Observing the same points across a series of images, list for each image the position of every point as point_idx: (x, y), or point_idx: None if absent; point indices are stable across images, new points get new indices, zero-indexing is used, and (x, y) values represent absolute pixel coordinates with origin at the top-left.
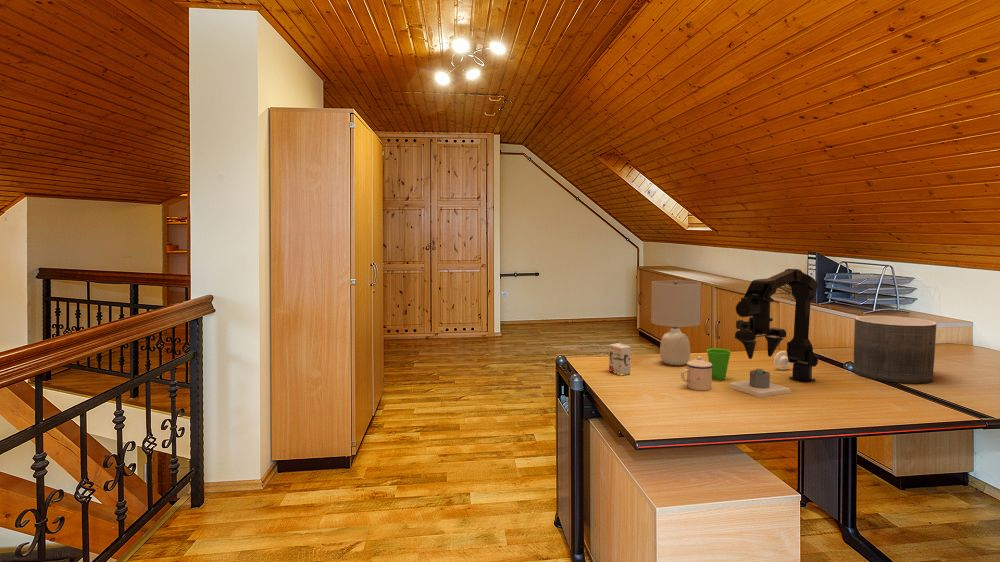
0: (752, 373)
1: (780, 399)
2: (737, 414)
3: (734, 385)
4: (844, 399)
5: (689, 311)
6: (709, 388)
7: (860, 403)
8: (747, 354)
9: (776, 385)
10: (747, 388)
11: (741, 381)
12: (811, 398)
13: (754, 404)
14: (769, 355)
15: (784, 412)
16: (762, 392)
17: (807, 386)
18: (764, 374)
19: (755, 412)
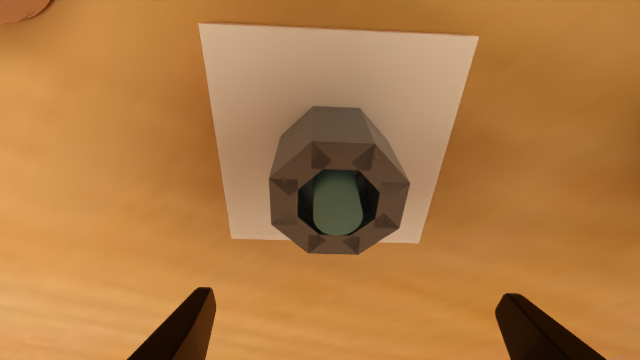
0: (270, 197)
1: (297, 264)
2: (34, 304)
3: (208, 75)
4: (488, 324)
5: None
6: (19, 20)
7: (479, 351)
8: (159, 328)
9: (420, 188)
10: (230, 166)
11: (313, 32)
12: (410, 290)
13: (154, 267)
14: (503, 314)
15: None
16: (252, 235)
17: (591, 197)
18: (317, 249)
19: (107, 310)
